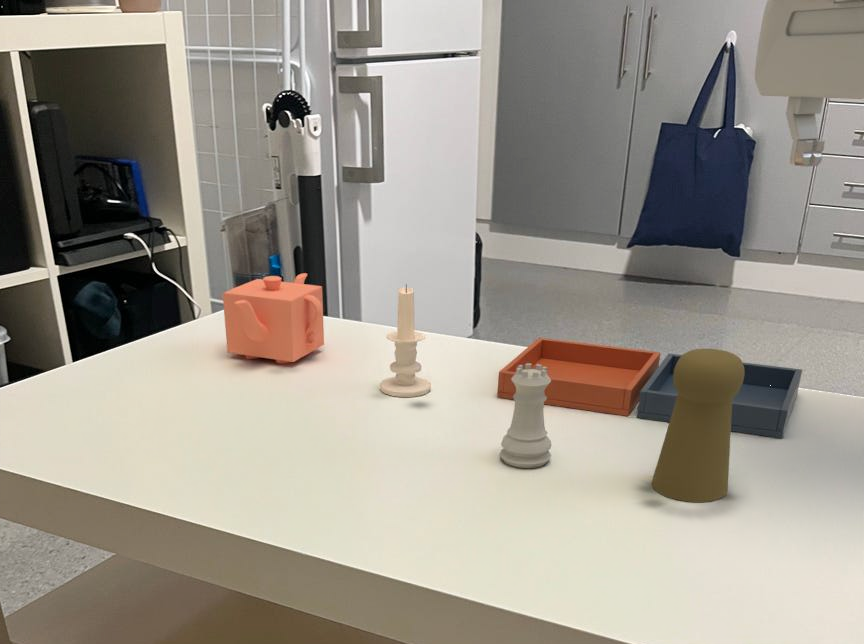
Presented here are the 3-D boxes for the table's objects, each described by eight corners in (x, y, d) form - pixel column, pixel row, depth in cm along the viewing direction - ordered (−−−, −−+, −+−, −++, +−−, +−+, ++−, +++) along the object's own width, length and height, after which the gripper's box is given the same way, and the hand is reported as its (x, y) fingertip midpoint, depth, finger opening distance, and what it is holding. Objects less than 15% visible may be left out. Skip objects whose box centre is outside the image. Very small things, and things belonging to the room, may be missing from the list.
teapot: (194, 366, 110) (186, 286, 106) (265, 331, 122) (260, 258, 117) (289, 380, 106) (285, 298, 101) (353, 343, 117) (352, 268, 113)
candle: (425, 398, 101) (427, 291, 95) (374, 395, 102) (373, 288, 96) (435, 382, 105) (437, 278, 100) (386, 379, 106) (385, 276, 101)
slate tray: (796, 394, 102) (802, 369, 100) (781, 438, 92) (787, 410, 90) (664, 377, 106) (668, 353, 105) (636, 417, 96) (640, 390, 95)
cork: (715, 508, 79) (741, 369, 73) (640, 491, 82) (660, 356, 76) (736, 482, 83) (763, 348, 78) (665, 466, 86) (685, 336, 80)
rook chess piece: (527, 474, 85) (534, 380, 81) (488, 458, 88) (493, 367, 83) (561, 460, 87) (570, 368, 83) (523, 446, 90) (529, 356, 86)
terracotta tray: (657, 376, 107) (660, 352, 105) (628, 416, 97) (631, 389, 95) (536, 361, 111) (538, 337, 110) (497, 397, 101) (498, 371, 100)
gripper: (1074, -76, 59) (1004, 182, 66) (825, -45, 76) (790, 159, 83) (993, -80, 57) (930, 186, 64) (756, -47, 74) (726, 162, 81)
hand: (849, 171), depth 74 cm, fingers open, 8 cm apart
